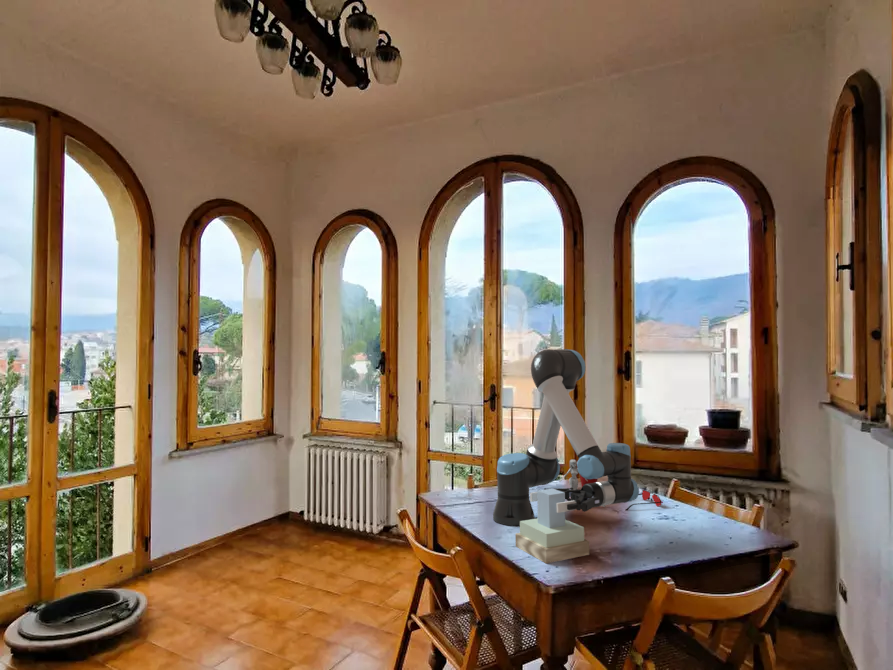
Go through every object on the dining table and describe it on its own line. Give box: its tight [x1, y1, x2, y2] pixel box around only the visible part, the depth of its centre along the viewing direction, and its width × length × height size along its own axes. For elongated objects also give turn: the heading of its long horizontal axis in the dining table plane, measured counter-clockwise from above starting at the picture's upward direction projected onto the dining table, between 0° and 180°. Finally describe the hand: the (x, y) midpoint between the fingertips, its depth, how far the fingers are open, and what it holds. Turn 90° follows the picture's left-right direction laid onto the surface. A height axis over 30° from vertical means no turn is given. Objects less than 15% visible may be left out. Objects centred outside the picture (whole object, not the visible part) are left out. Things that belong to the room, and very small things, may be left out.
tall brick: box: [536, 488, 566, 528], centre depth 168 cm, size 6×6×10 cm
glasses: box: [625, 489, 664, 511], centre depth 219 cm, size 14×16×5 cm
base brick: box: [515, 532, 590, 564], centre depth 168 cm, size 16×16×4 cm
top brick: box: [519, 517, 585, 548], centre depth 168 cm, size 14×14×4 cm
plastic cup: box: [579, 474, 598, 487], centre depth 243 cm, size 11×11×12 cm
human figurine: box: [559, 459, 588, 503], centre depth 220 cm, size 12×4×18 cm, turn 97°
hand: (543, 502), depth 167 cm, fingers open, 13 cm apart
